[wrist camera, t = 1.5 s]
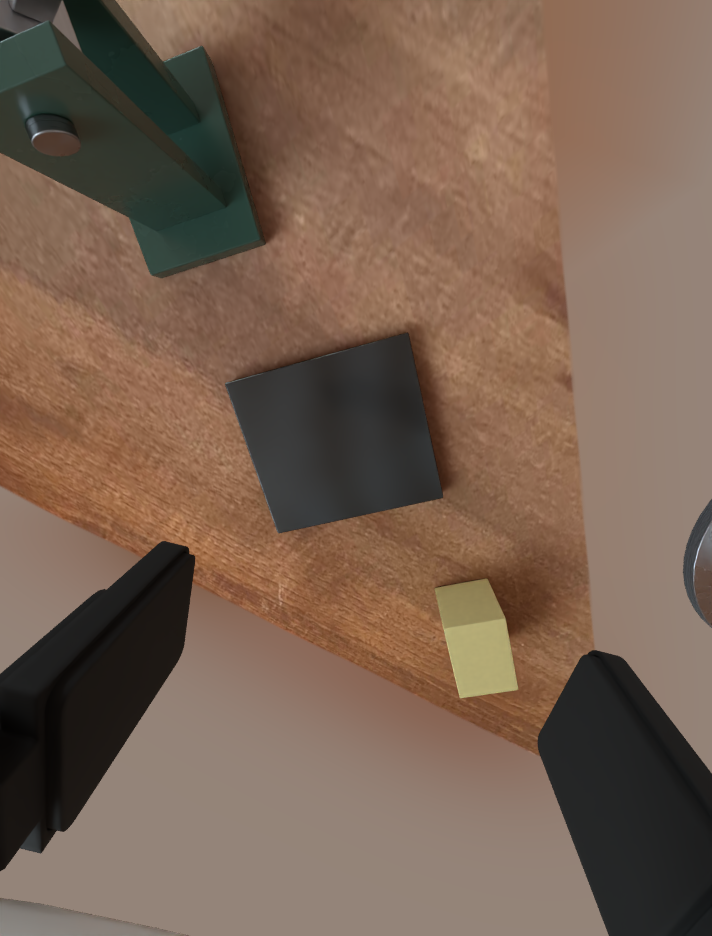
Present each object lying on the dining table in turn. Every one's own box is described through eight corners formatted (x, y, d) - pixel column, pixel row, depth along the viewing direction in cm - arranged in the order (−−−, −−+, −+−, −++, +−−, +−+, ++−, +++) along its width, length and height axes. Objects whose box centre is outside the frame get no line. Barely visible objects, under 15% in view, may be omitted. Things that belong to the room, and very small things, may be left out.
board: (407, 332, 24) (408, 332, 23) (441, 492, 27) (443, 498, 26) (229, 381, 26) (224, 383, 25) (281, 527, 29) (277, 534, 28)
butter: (487, 577, 29) (505, 618, 25) (499, 642, 31) (518, 690, 26) (434, 587, 30) (443, 628, 25) (449, 650, 31) (460, 698, 27)
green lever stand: (212, 60, 21) (-32, -349, 8) (266, 244, 23) (138, 133, 11) (97, 106, 22) (-272, -202, 9) (161, 278, 24) (-64, 211, 12)
